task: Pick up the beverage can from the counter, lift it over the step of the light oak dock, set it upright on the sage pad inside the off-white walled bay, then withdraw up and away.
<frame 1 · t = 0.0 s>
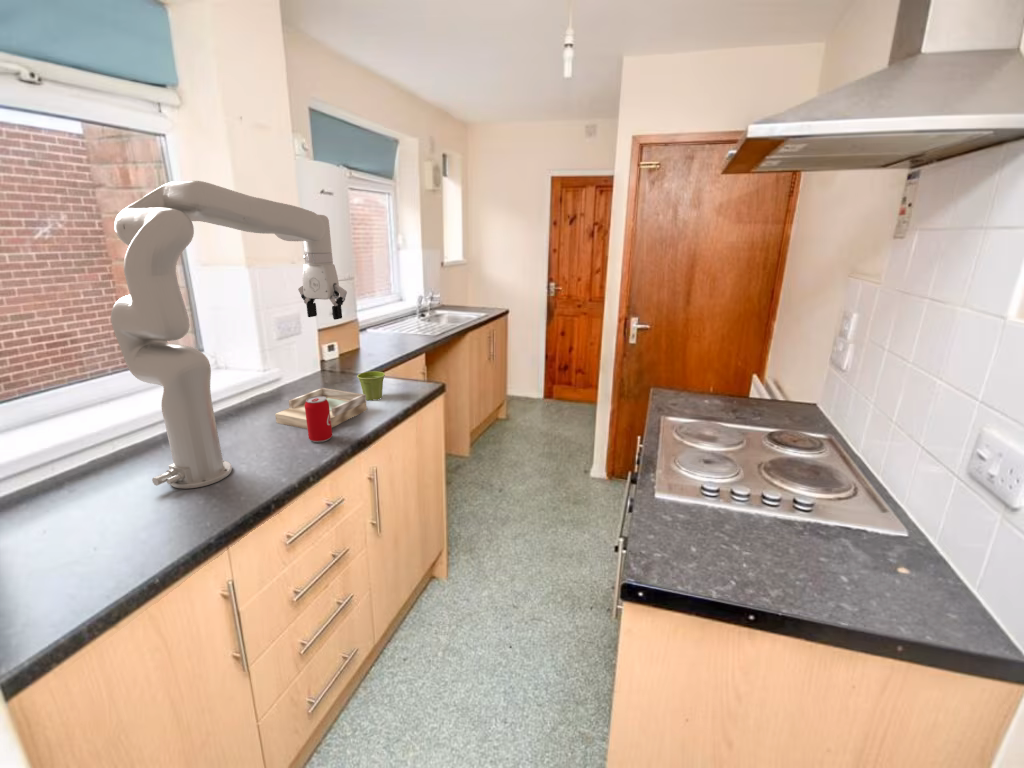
hand: (325, 317, 143), 31 cm above the worktop, tool pointing down, fingers open, 9 cm apart
dock: (323, 416, 150), on the worktop
beverage can: (320, 439, 134), on the worktop
plant pot: (373, 398, 168), on the worktop
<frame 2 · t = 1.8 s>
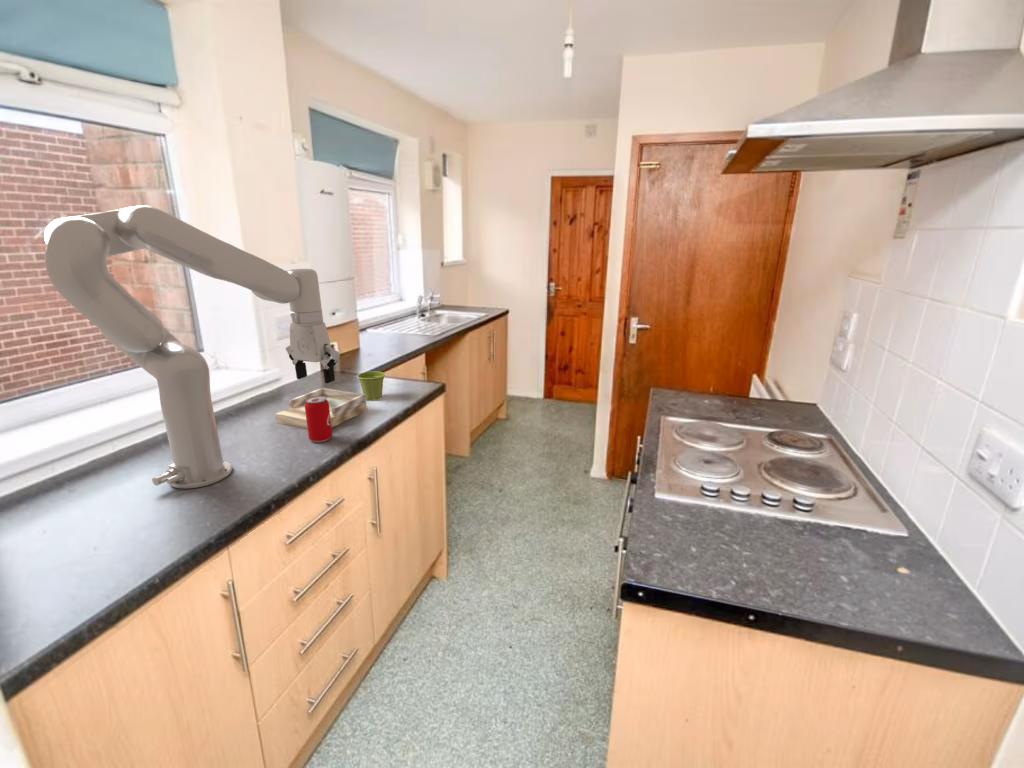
hand: (315, 379, 129), 17 cm above the worktop, tool pointing down, fingers open, 9 cm apart
nothing on the worktop moved.
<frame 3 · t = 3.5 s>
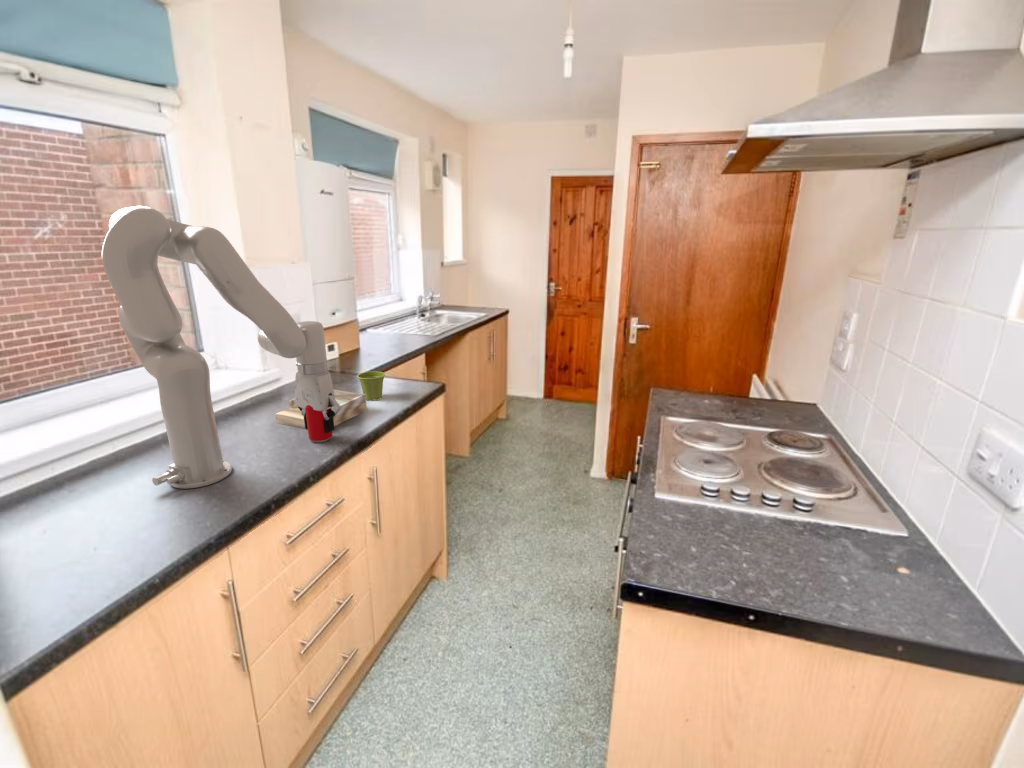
hand: (319, 429, 133), 3 cm above the worktop, tool pointing down, fingers closed on beverage can, 6 cm apart
beverage can: (321, 439, 134), on the worktop, touching gripper
everything else where it was.
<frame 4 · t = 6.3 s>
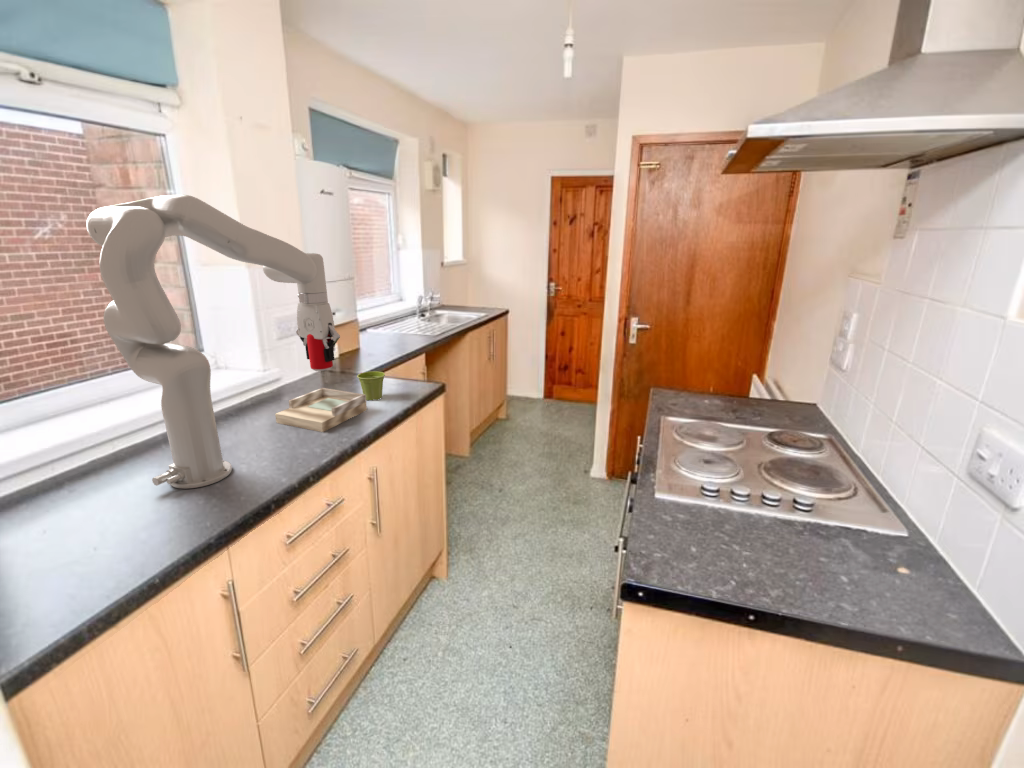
hand: (320, 359, 140), 20 cm above the worktop, tool pointing down, fingers closed on beverage can, 6 cm apart
beverage can: (322, 369, 141), point 17 cm above the worktop, touching gripper
everything else where it was.
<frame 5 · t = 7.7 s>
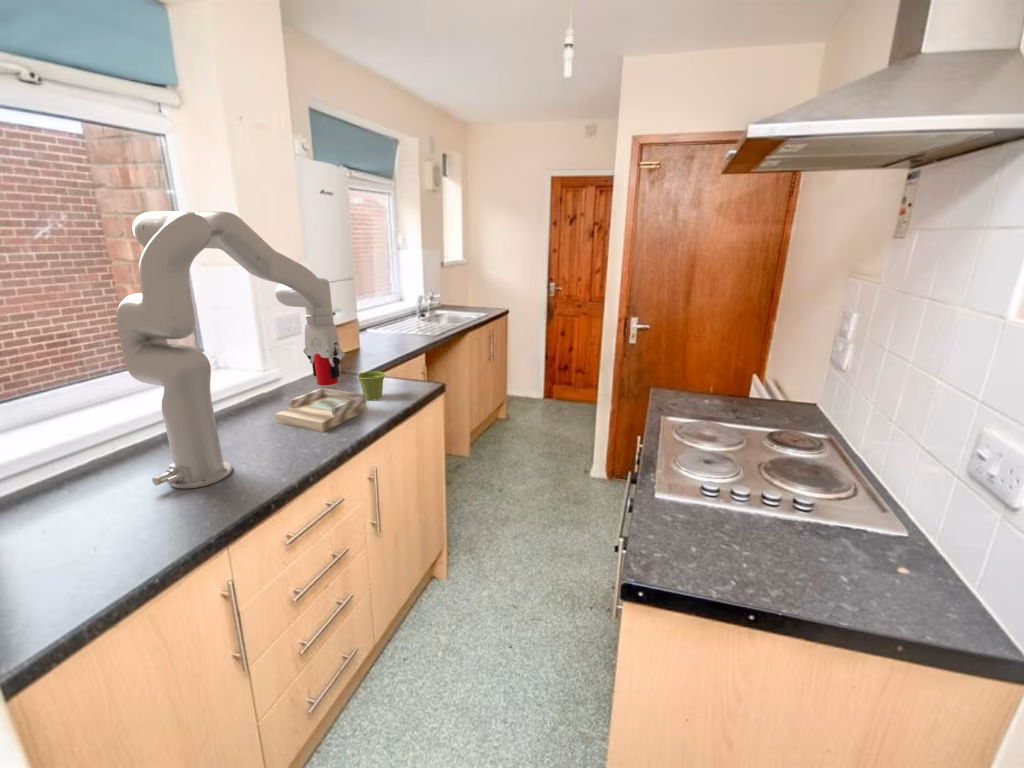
hand: (326, 375, 150), 13 cm above the worktop, tool pointing down, fingers closed on beverage can, 6 cm apart
beverage can: (327, 385, 151), point 9 cm above the worktop, touching gripper
everything else where it was.
when the fingers open (7 cm above the worktop, at t = 9.0 s): beverage can stays where it is, resting on dock.
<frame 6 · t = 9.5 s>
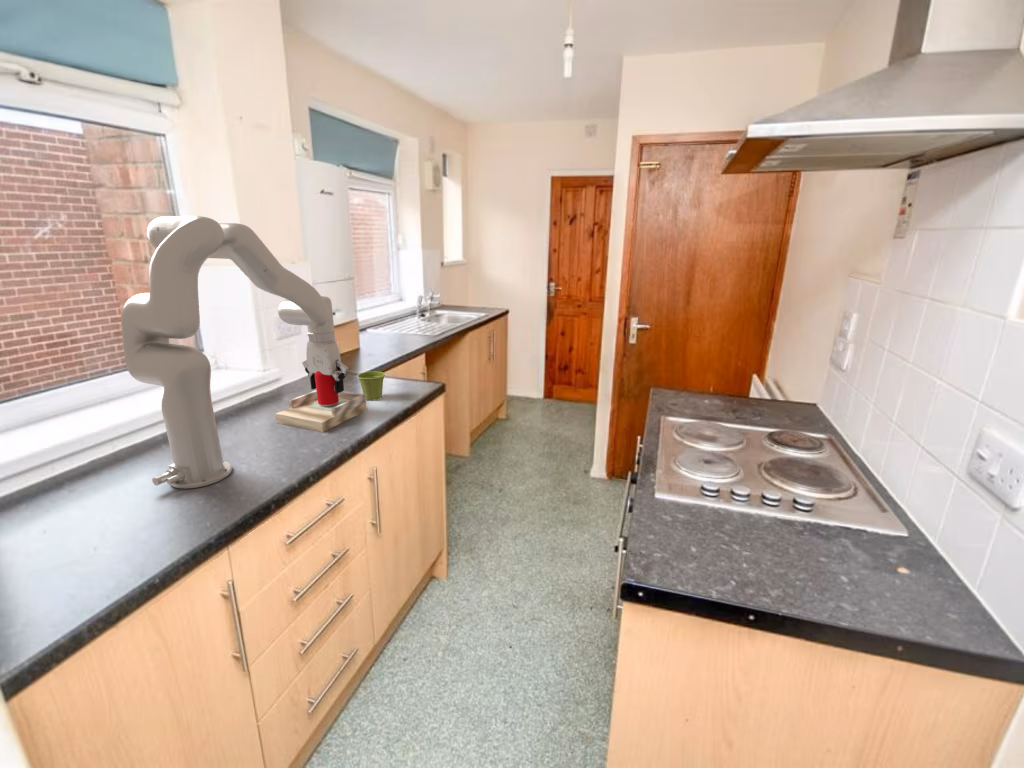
hand: (327, 390, 151), 8 cm above the worktop, tool pointing down, fingers open, 9 cm apart
beverage can: (328, 404, 152), point 3 cm above the worktop, touching dock
everything else where it was.
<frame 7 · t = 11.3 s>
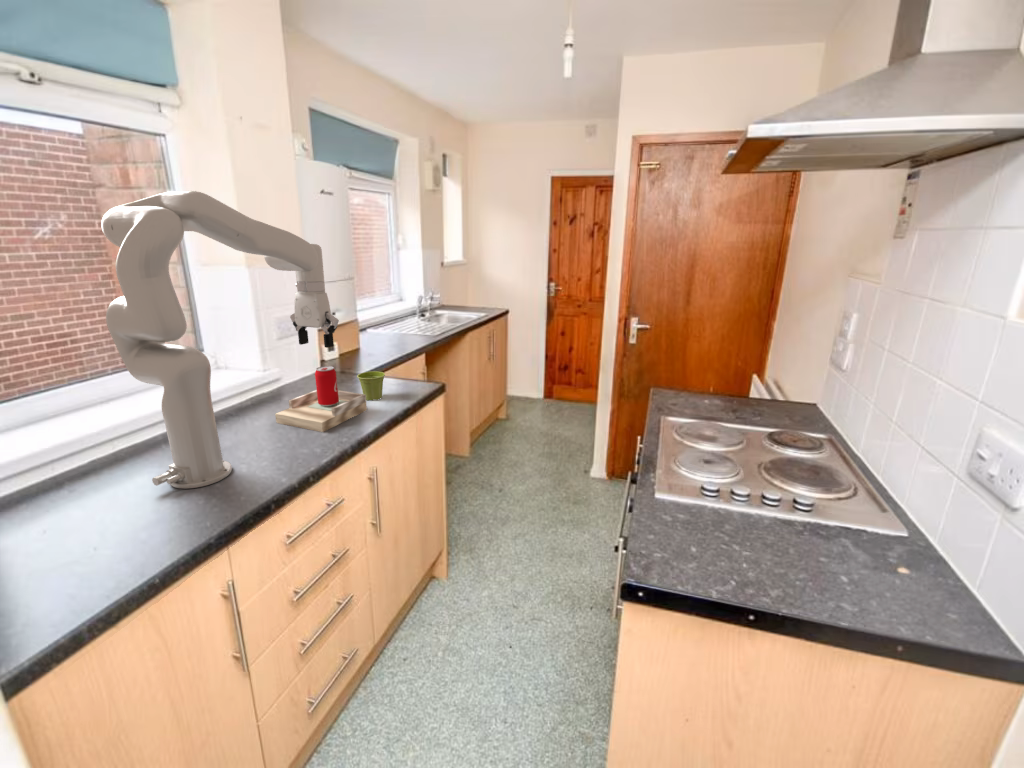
hand: (316, 345, 143), 23 cm above the worktop, tool pointing down, fingers open, 9 cm apart
nothing on the worktop moved.
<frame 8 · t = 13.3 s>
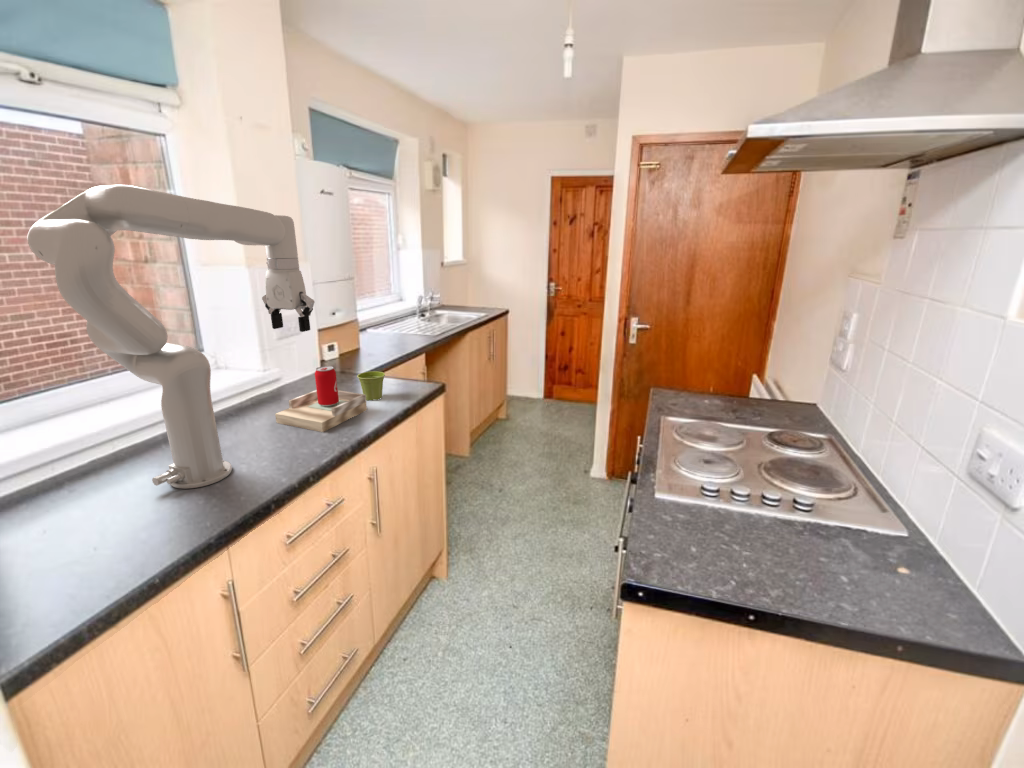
hand: (291, 329, 129), 30 cm above the worktop, tool pointing down, fingers open, 9 cm apart
nothing on the worktop moved.
at the end: beverage can inside the target area on the dock (0.0 cm from its centre), point 3.0 cm above the dock's base; beverage can tilted 0°; the gripper is holding nothing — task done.
